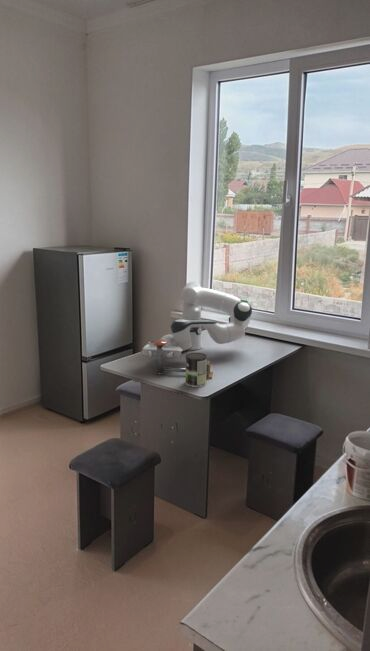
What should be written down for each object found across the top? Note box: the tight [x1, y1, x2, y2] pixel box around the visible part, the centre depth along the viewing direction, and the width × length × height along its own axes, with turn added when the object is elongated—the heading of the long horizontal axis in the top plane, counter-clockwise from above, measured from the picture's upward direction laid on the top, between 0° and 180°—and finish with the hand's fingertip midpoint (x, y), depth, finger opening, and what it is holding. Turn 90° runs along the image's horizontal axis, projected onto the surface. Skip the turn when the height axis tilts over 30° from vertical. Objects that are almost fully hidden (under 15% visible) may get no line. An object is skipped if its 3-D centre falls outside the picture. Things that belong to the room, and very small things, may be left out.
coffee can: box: [185, 352, 208, 388], centre depth 241 cm, size 10×10×14 cm
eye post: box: [206, 360, 214, 380], centre depth 252 cm, size 7×8×7 cm
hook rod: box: [153, 339, 186, 375], centre depth 252 cm, size 22×6×17 cm, turn 82°
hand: (159, 355), depth 252 cm, fingers open, 8 cm apart
